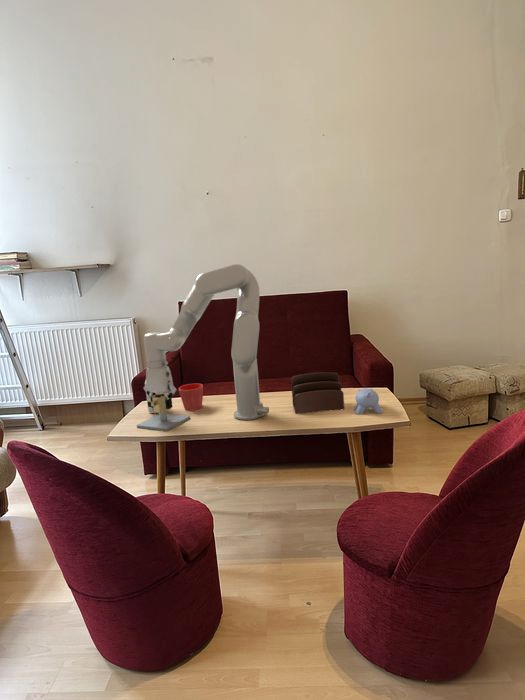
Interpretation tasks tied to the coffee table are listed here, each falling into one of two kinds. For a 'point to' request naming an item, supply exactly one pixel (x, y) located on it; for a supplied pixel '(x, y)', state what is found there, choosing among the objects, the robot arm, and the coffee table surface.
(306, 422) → the coffee table surface
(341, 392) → the letter holder
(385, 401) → the coffee table surface
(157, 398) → the cup
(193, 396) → the flower pot
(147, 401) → the supplement can
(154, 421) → the post base
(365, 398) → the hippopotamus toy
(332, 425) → the coffee table surface
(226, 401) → the coffee table surface
